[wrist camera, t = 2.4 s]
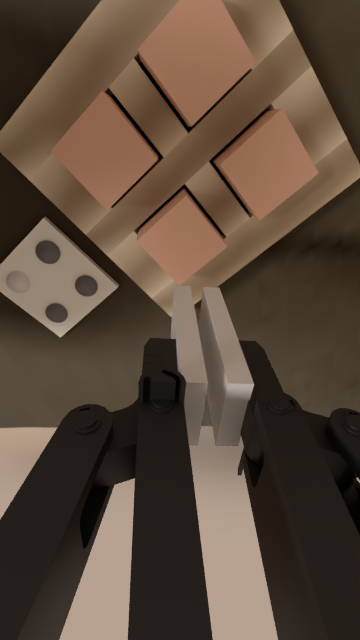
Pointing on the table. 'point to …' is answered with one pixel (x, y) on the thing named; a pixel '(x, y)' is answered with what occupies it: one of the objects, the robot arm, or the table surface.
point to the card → (53, 278)
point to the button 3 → (196, 56)
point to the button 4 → (266, 163)
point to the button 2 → (180, 237)
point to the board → (178, 137)
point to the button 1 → (105, 151)
